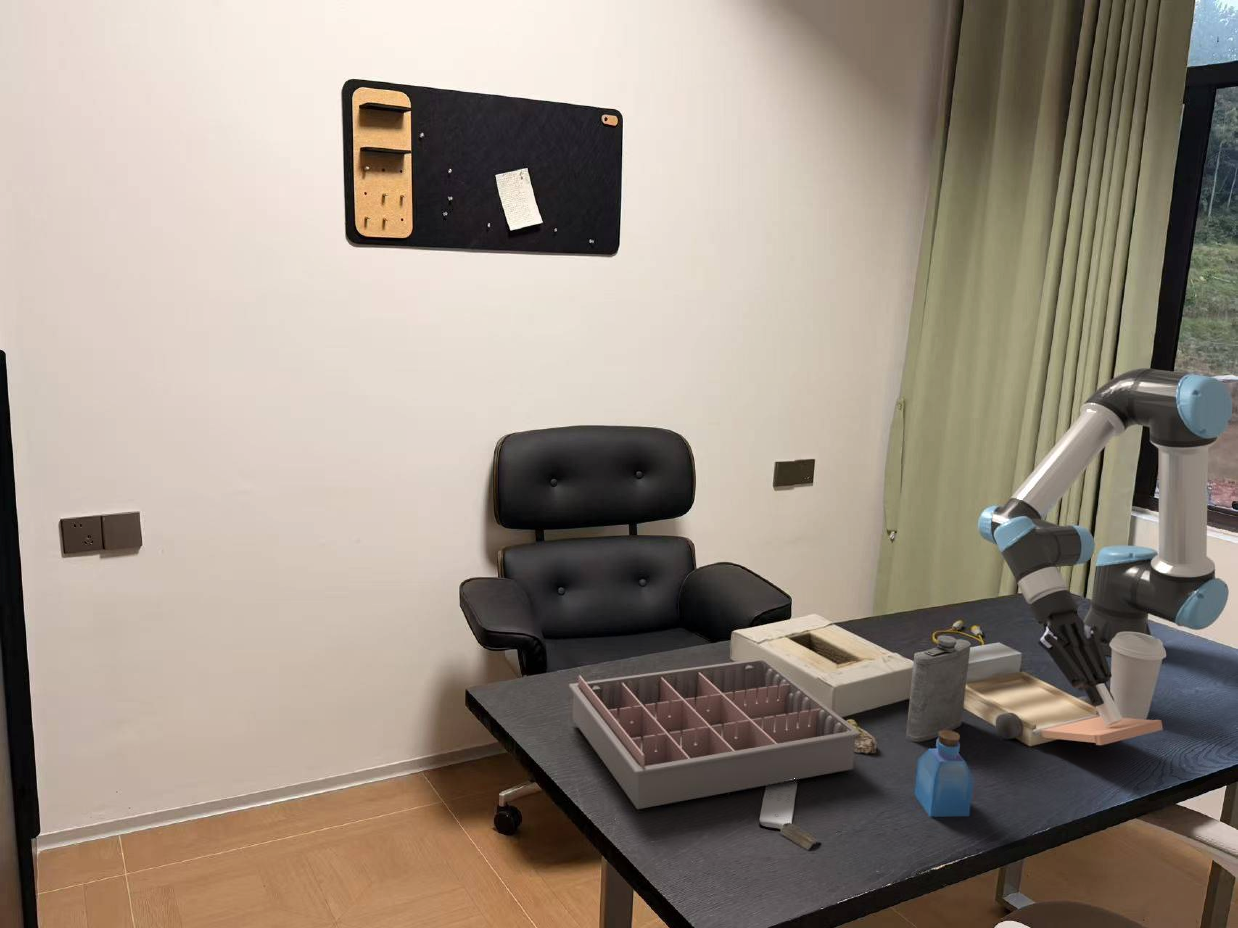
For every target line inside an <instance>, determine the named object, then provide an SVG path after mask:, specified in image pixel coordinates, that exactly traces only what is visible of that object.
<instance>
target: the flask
mask: <svg viewBox="0 0 1238 928" xmlns="http://www.w3.org/2000/svg"><path fill="white" fill-rule="evenodd" d="M936 640H937V642H938V644H937V646H936V647H933V648H931V649H927V650H925V651H919V652H915V653H914V655H913V661H914V663H913V673H912V683H911V693H910V699H909V703H908V715H907V724H906V734H905V738H906V739H907V740H908V741H910V742H913V743H920V742H925V741H928V740H933V739H936V738H939V734H938V733H939V731H942V730H949V731H954V730H956V729H957V728H958V727H960V726H961V725H962V724H963V723H962V722H963V714H964V708H963V707H964V698H965V689H966V681H967V672H968V663H969V654H970V647H972V644H971V642H970V641H968V640H966V639H956V638H955V637H953V636H951V635H939V636H937V639H936Z"/></svg>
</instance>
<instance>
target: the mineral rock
mask: <svg viewBox="0 0 1238 928" xmlns="http://www.w3.org/2000/svg"><path fill="white" fill-rule="evenodd" d="M845 721H846V722H848V723H849V724H850V725H851V726H853V727H854V728H855V729H857V730H858V731H859V732H860V733H861V734H862V735H860V736H856V739H855V750H854V754H856V753H864V754H867V755H868V754H869V753H871V754H875V753H877V748H878V741H876V739H875V737H874V736H873V735H872V734H870V733H869V731H866V730H865V729H863V728H861V727H859V726H858V724H857V722H856V721H855V720H854V719H847V720H845Z"/></svg>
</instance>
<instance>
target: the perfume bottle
mask: <svg viewBox="0 0 1238 928" xmlns="http://www.w3.org/2000/svg"><path fill="white" fill-rule="evenodd" d="M938 734H939V736H938V737H937V739H936V743H935V747H936V748H935V747H933V748H929V749H927V750H926V751H925V753H923V754H922V755H921V757H919V758H918V759H917V760H918V761H917V768H916V769H917V770H916V779H915V790H914V796H915V798H916V799H917V800H918V802H919V803H920V805H921V806H922V808H923V810H925V812H926V813H927V815H928V817H929V818H932V817H933V818H936V817H938V818H939V817H940V818H941V817H942V818H943V817H969V816H970V810H971V802H972V801H971V800H972V795H973V794H972V793H973V785H974V778H973V776H972V774H971V772H970V769H969V767H968V765H967V762H966V761H965V759H964V758H963V757H962V755H960V754H959V752H960V750H961V749H960V747H961V743H960V742H959V740H960V738H961V737H960V734H959V733H958V732H955V731H954V730H952V731H949V730H942V731H939V733H938Z"/></svg>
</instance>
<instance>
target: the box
mask: <svg viewBox="0 0 1238 928" xmlns="http://www.w3.org/2000/svg"><path fill="white" fill-rule="evenodd" d="M730 637H731V638H730V649H729V650H730V651H729V652H730V656H729V657H730V660H731V661H732V662H739V661H746V660H754V659H761V658H765V659H767V660H768V661H769V662H771V663H772V664H773V665H774V666H776V667H777V668H778V669H779V670H781V671H782V672H783V673H785V674H786V675H787V676H788V677H790V678H791V679H792V680H794V681H795V682H796V683H797V684H799V685H800V686H801V687H803V688H804V689H805V690H806V691H808V692H809V693H810V694H812V695H813V696H814V697H815V698H817V699H818V700H819V701H821V702H822V703H823V704H824V705H826V706H827V707H828V708H830V709H831V710H832V711H833V712H835V713H836V714H837V715H839V716H840V717H841V718H844V717H847V716H851V715H855V714H858V713H862V712H866V711H869V710H872V709H877V708H880V707H883V706H887V705H891V704H895V703H898V702H902V701H906V700H910V693H911V683H912V673H913V663H914V660H911V659H909V658H906V657H904V656H902V654H899V653H897V652H893V651H890V650H888V649H886V648H883V646H882V647H881V646H880V645H877V644H875V643H873V642H871V641H869V640H867V639H865V638H863V637H861V636H860V635H859V636H858V635H856V634H854V633H852V632H850V631H848V630H846V629H844V628H842V627H840V626H838V625H837V624H835V623H834V622H832V621H831V620H828V619H826V618H824V617H823V616H821V615H819V614H817V613H811V614H808V615H805V616H801V617H800V616H799V617H795V618H791V619H786V620H781V621H775V622H772V623H767V624H763V625H761V624H760V625H758V626H753V627H747V628H741V629H736V630H733V631H732V632H731V635H730Z"/></svg>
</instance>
